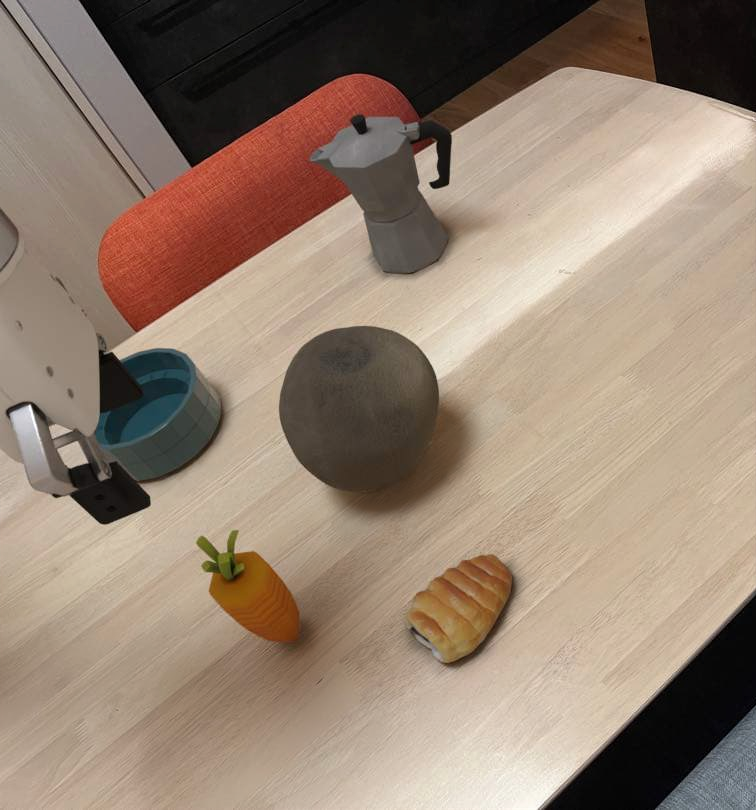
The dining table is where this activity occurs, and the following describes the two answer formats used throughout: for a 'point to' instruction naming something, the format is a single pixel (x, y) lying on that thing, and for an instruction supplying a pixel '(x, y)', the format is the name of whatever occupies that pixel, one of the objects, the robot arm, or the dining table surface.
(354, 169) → the coffeepot
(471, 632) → the pastry
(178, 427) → the bowl
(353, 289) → the dining table surface
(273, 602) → the carrot
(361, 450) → the brown coconut
